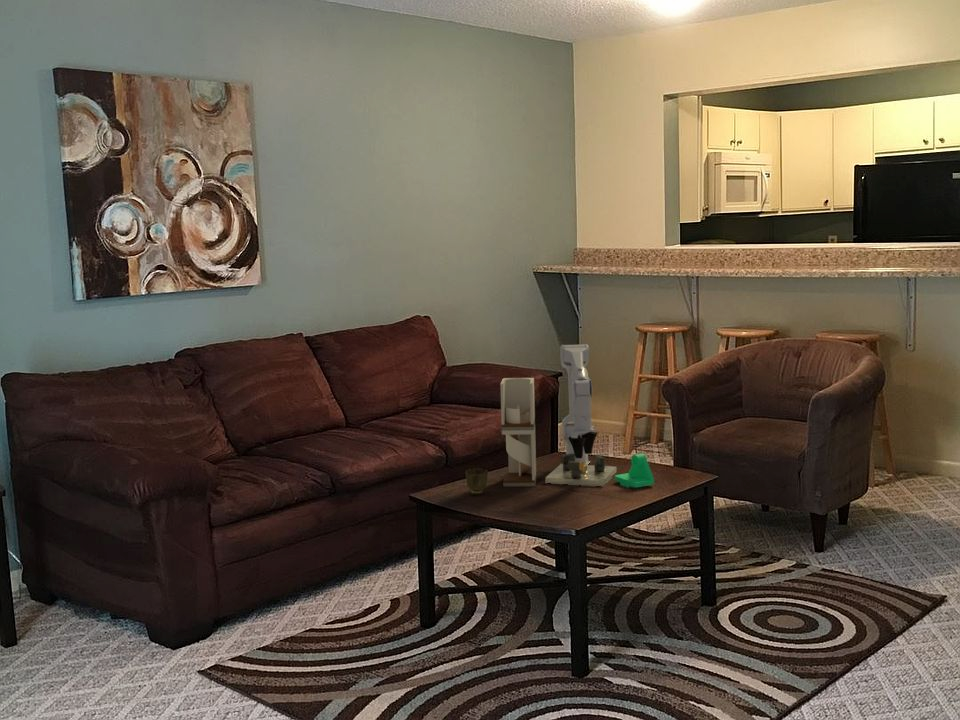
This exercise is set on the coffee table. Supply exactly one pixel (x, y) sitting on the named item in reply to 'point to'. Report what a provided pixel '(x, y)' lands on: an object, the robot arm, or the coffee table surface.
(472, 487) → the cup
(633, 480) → the camera mount
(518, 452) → the white dispenser tower
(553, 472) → the base
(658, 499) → the coffee table surface
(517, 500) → the coffee table surface
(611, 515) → the coffee table surface
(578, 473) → the tan-ended square prism
